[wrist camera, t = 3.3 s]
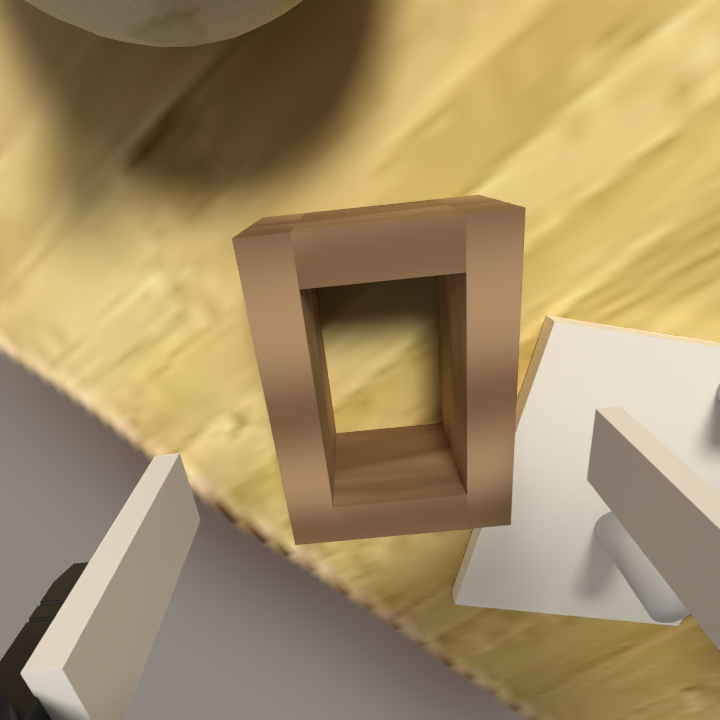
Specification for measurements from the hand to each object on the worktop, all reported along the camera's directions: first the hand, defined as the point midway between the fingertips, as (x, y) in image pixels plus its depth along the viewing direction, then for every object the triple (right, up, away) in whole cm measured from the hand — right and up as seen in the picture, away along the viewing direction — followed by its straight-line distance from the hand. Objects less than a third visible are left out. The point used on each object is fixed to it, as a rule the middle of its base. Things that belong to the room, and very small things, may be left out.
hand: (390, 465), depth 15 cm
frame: (0, +4, +9) cm, 10 cm away
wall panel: (+15, -5, +13) cm, 20 cm away
